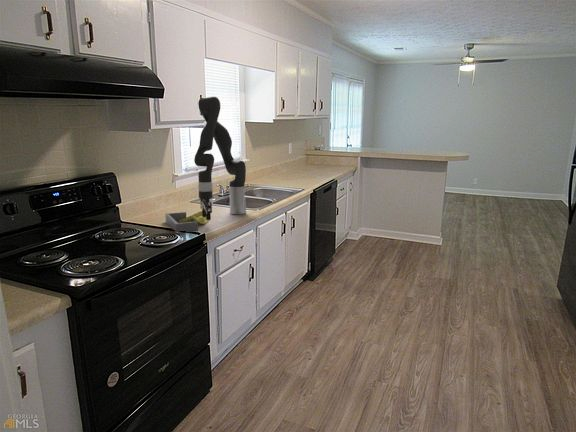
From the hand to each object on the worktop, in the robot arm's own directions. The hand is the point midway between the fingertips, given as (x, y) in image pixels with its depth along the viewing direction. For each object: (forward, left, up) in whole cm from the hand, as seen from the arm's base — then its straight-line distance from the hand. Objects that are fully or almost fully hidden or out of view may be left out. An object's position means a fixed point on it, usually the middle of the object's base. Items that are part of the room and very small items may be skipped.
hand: (206, 218), depth 231 cm
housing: (+13, 0, -3) cm, 14 cm away
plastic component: (+7, -2, -4) cm, 8 cm away
